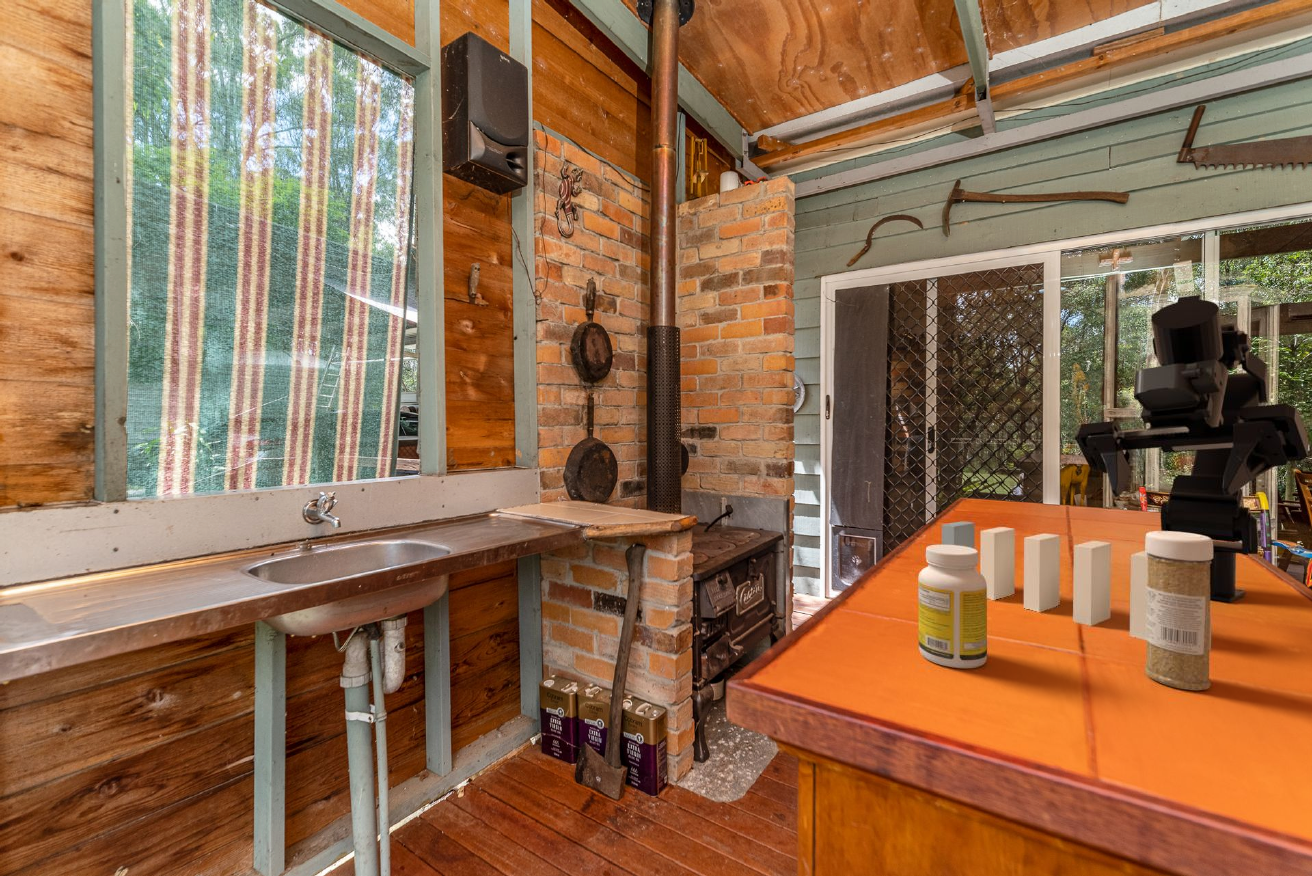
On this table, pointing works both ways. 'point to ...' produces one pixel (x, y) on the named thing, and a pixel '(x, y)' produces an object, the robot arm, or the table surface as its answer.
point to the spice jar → (1178, 609)
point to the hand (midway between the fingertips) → (1167, 493)
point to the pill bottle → (952, 608)
